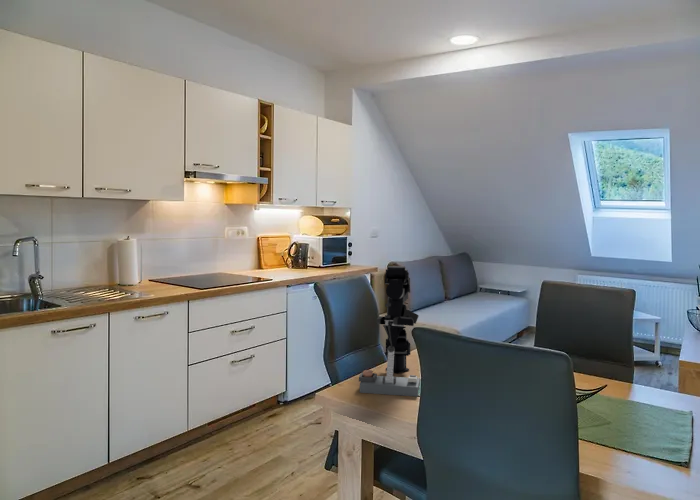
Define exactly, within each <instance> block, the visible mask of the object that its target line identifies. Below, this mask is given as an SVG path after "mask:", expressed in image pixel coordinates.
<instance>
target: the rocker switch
mask: <svg viewBox="0 0 700 500" xmlns="http://www.w3.org/2000/svg"><path fill="white" fill-rule="evenodd" d="M407 378H408V382H417V378H418V376H417V375H413V374H409V375H408V376H407Z"/></svg>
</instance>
